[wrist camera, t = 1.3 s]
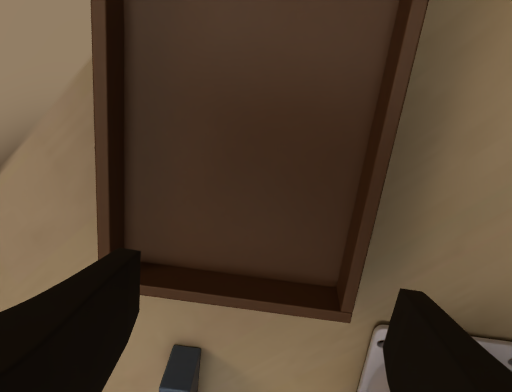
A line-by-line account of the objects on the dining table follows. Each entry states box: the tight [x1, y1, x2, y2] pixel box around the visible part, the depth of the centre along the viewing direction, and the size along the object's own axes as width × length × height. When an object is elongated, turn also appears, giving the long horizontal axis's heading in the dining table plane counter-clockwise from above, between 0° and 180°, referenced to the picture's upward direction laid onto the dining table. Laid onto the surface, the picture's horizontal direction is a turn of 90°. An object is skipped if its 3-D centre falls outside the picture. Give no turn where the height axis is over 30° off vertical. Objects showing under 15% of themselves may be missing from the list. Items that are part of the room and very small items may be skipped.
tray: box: [91, 0, 429, 323], centre depth 19 cm, size 17×12×2 cm
